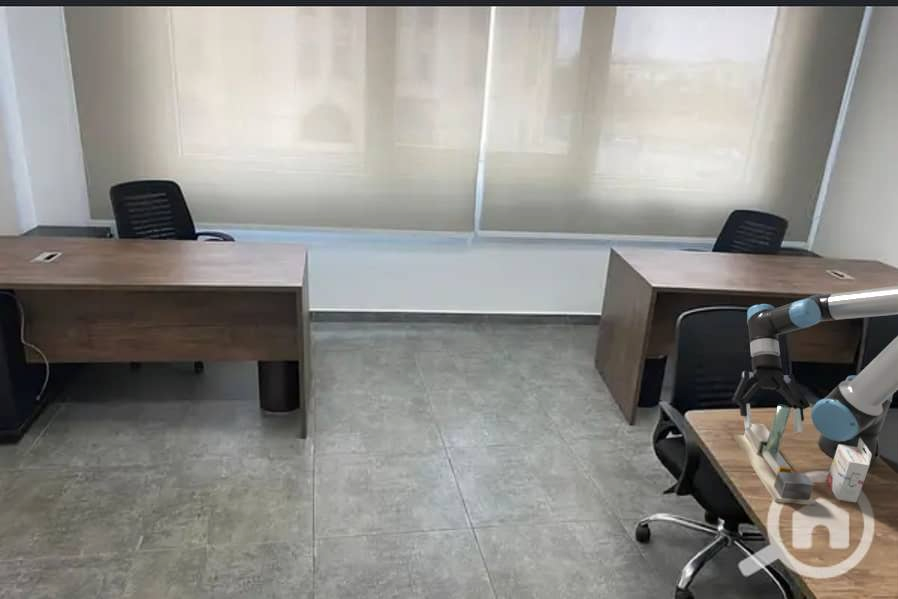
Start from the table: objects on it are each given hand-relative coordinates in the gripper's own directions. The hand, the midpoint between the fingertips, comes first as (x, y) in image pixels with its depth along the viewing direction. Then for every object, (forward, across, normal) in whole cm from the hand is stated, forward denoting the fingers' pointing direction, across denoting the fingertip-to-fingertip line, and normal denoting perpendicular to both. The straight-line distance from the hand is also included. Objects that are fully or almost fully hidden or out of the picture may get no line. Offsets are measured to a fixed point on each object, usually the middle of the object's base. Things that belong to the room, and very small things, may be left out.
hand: (773, 430), depth 175 cm
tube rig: (+9, -1, -5) cm, 11 cm away
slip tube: (+6, -1, -6) cm, 9 cm away
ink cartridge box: (+15, -16, 0) cm, 22 cm away
